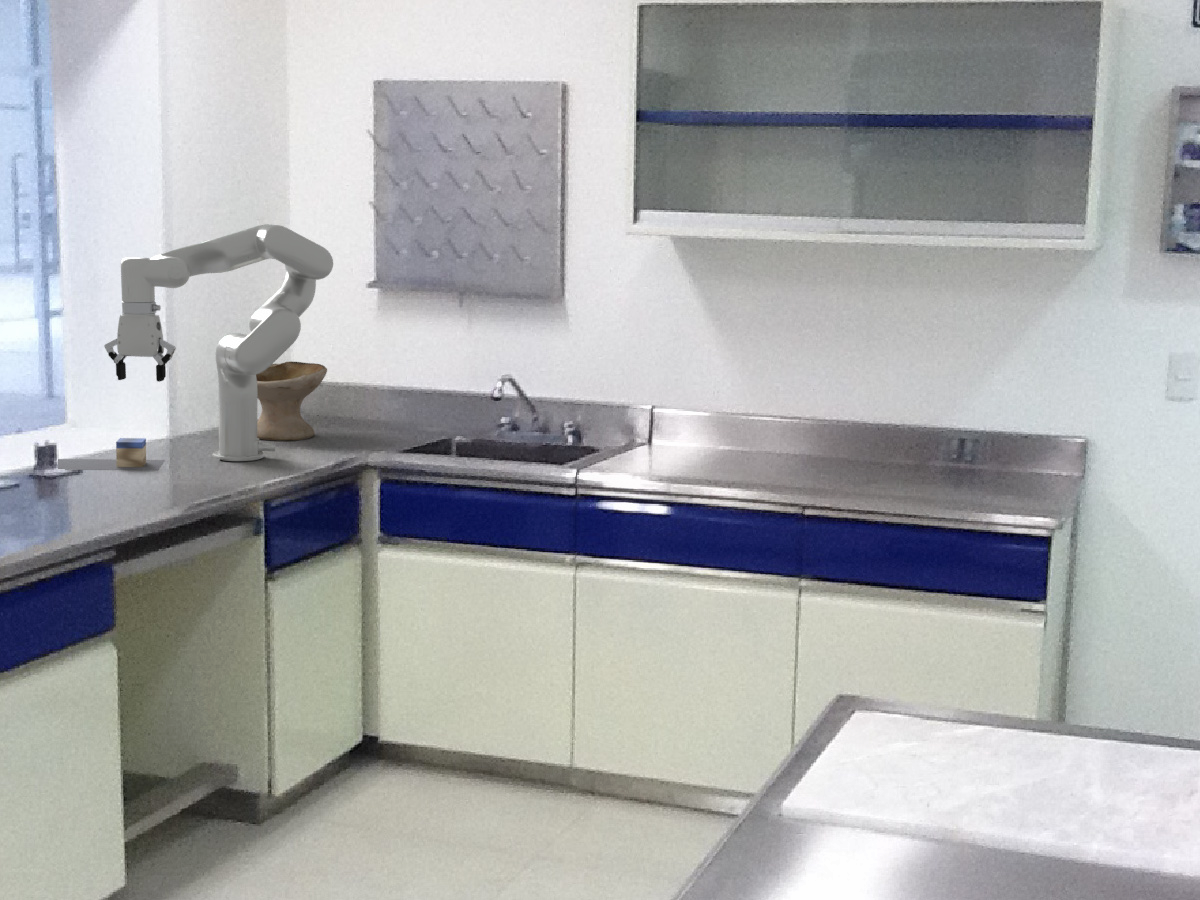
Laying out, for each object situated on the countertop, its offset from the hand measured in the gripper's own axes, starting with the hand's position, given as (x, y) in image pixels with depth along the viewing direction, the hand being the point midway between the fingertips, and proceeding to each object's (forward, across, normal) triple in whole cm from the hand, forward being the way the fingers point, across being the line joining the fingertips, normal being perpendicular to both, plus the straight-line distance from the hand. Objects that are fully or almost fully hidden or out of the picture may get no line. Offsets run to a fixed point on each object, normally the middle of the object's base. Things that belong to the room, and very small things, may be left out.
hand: (141, 380), depth 335 cm
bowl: (+22, -17, -53) cm, 60 cm away
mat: (+20, +7, +6) cm, 22 cm away
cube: (+20, +1, +4) cm, 21 cm away
